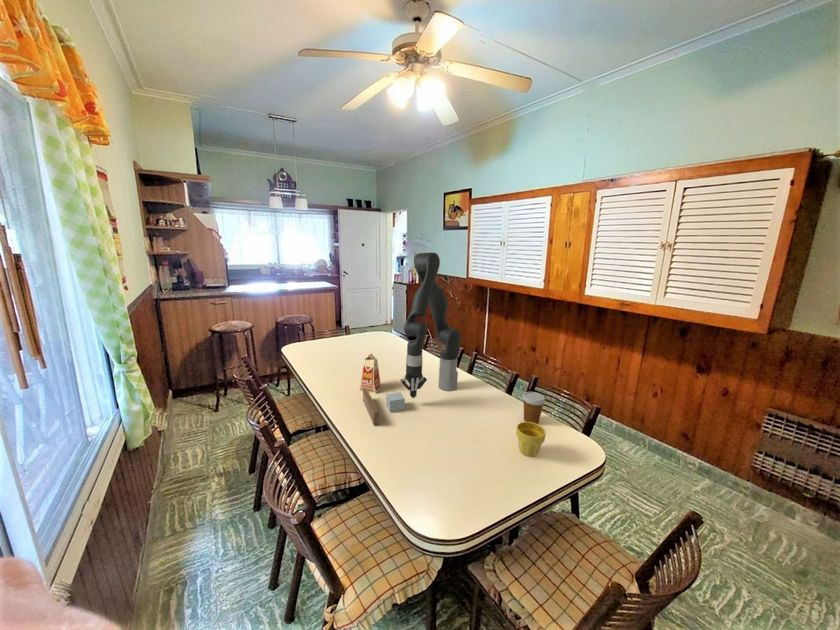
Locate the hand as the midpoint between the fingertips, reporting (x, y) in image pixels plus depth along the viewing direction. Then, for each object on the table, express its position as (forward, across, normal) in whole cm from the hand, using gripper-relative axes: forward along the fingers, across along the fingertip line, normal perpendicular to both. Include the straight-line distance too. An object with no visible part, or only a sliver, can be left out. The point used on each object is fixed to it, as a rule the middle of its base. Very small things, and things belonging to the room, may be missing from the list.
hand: (413, 397), depth 155 cm
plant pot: (+4, -30, +47) cm, 56 cm away
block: (+4, +9, 0) cm, 10 cm away
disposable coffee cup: (+4, -46, +29) cm, 55 cm away
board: (+4, +21, 0) cm, 21 cm away
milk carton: (+4, +16, -23) cm, 28 cm away
